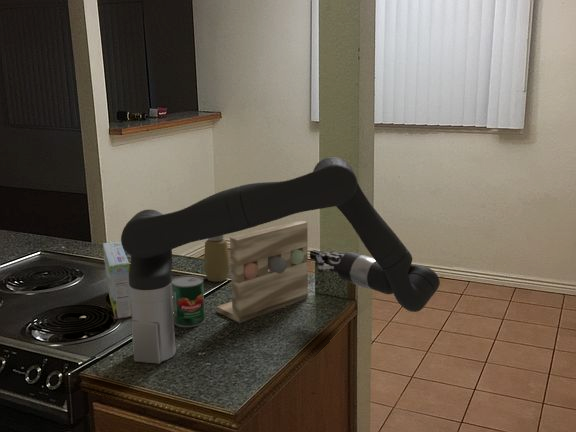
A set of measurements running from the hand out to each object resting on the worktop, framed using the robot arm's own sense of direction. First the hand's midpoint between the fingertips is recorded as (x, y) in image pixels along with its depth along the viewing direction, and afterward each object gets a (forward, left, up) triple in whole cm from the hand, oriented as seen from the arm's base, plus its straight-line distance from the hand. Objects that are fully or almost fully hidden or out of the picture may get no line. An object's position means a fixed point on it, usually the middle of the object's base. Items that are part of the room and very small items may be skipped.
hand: (311, 254), depth 166 cm
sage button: (+4, +6, -4) cm, 8 cm away
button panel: (0, +13, -15) cm, 20 cm away
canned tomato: (-14, +29, -16) cm, 36 cm away
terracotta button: (-9, +15, -4) cm, 18 cm away
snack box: (-7, +52, -16) cm, 55 cm away
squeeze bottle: (+17, +32, -15) cm, 40 cm away
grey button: (-3, +9, -4) cm, 10 cm away
